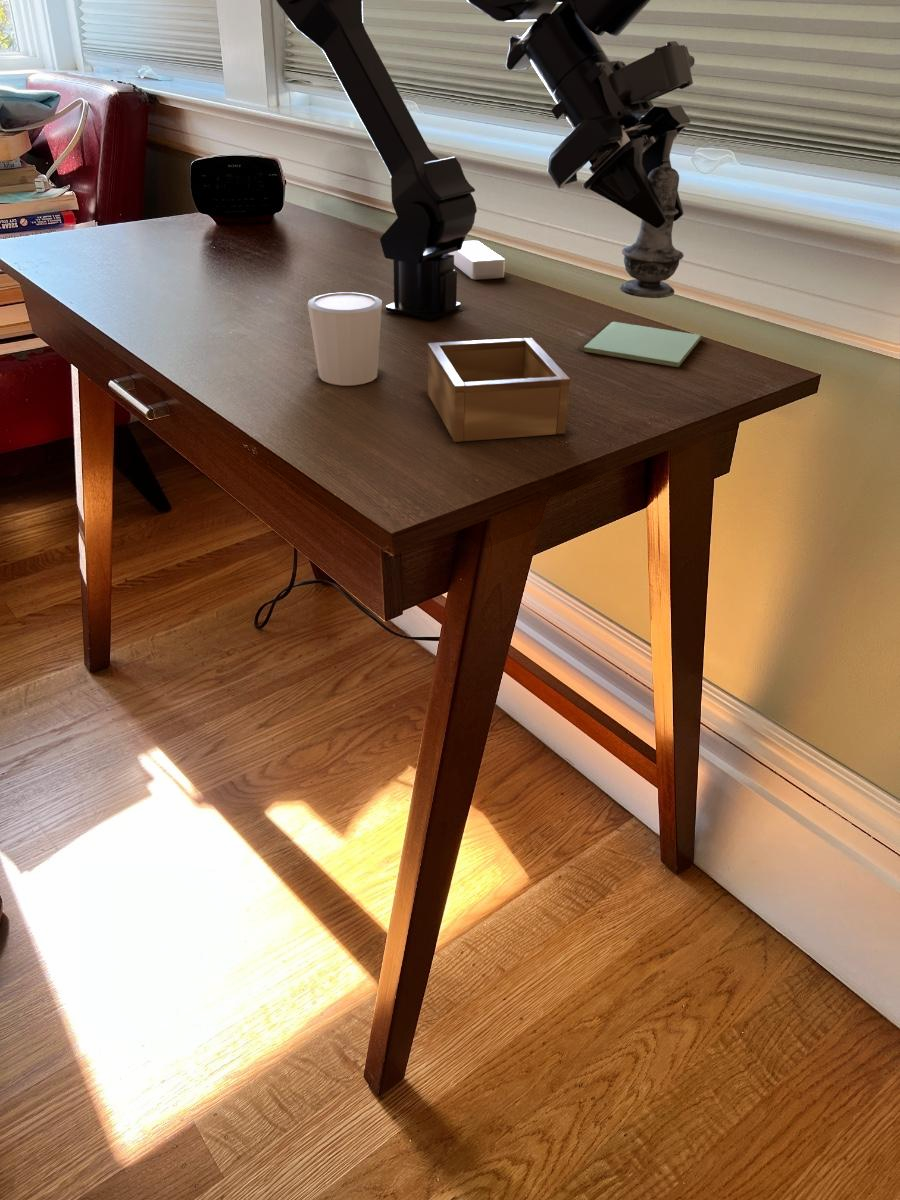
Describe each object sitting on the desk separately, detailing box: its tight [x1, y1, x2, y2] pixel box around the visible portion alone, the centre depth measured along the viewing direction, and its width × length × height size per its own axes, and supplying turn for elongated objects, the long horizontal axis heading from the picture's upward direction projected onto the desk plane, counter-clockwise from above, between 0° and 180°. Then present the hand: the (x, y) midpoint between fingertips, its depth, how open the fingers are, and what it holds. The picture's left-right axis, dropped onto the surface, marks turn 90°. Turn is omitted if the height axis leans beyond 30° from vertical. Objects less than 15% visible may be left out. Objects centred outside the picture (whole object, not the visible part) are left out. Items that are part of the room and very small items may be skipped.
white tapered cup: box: [307, 291, 383, 386], centre depth 85 cm, size 7×7×7 cm
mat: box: [582, 321, 702, 368], centre depth 96 cm, size 10×10×1 cm
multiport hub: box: [448, 240, 506, 281], centre depth 121 cm, size 4×11×2 cm, turn 18°
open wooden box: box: [427, 337, 571, 443], centre depth 78 cm, size 11×10×5 cm
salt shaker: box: [619, 156, 685, 299], centre depth 85 cm, size 6×6×12 cm
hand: (670, 221), depth 84 cm, fingers closed on salt shaker, 3 cm apart
